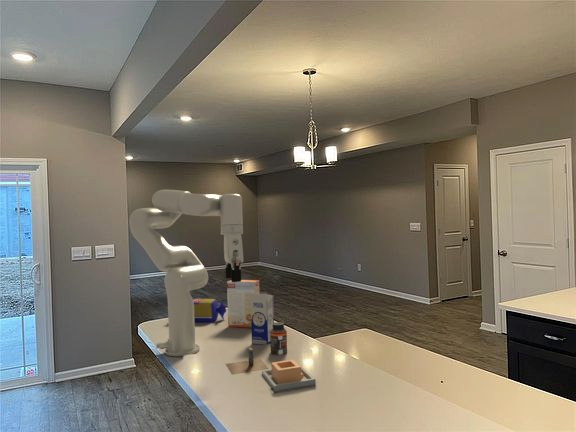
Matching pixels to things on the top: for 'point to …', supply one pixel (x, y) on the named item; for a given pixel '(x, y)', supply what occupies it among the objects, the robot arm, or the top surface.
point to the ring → (286, 371)
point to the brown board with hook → (247, 364)
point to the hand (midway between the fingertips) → (233, 279)
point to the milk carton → (261, 317)
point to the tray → (291, 385)
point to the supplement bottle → (278, 339)
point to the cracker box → (240, 302)
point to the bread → (207, 310)
